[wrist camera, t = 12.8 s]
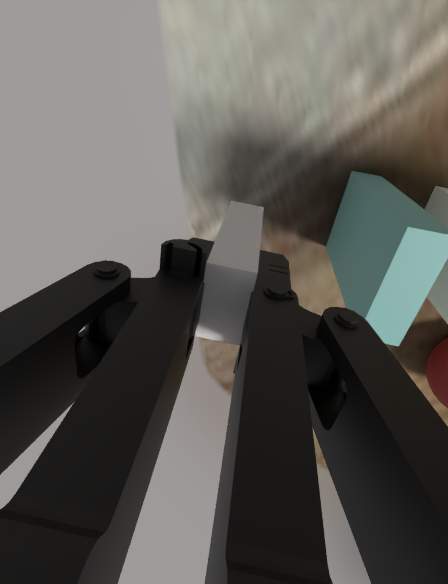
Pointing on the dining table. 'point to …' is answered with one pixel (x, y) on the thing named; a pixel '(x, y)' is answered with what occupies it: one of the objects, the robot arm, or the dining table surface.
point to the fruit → (439, 371)
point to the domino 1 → (385, 254)
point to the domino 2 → (444, 291)
